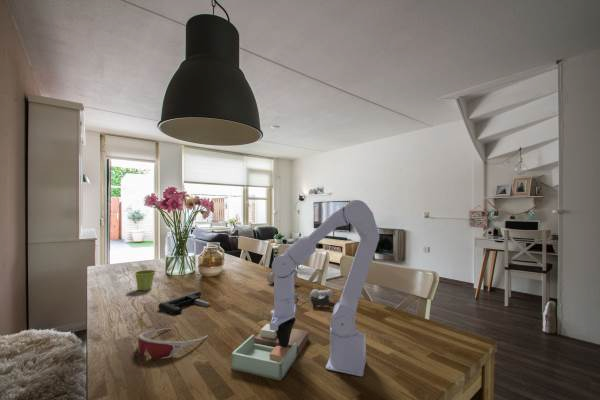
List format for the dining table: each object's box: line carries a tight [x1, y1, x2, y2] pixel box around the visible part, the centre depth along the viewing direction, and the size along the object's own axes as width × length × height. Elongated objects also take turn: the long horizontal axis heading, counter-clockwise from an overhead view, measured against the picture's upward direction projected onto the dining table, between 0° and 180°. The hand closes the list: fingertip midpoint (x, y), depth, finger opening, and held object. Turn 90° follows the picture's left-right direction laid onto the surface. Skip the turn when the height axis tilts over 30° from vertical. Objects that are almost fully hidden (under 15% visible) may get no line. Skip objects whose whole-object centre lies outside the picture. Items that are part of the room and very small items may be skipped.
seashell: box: [266, 268, 298, 284], centre depth 148 cm, size 10×15×10 cm
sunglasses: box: [137, 327, 208, 360], centre depth 82 cm, size 17×17×5 cm
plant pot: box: [134, 269, 157, 292], centre depth 137 cm, size 9×9×9 cm
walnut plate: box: [254, 327, 309, 356], centre depth 83 cm, size 14×10×2 cm
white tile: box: [260, 323, 277, 339], centre depth 83 cm, size 4×4×2 cm
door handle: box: [158, 290, 211, 316], centre depth 114 cm, size 3×20×16 cm
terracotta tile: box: [270, 346, 290, 362], centre depth 73 cm, size 4×4×2 cm
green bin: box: [230, 334, 298, 382], centre depth 72 cm, size 14×11×4 cm
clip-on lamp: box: [294, 288, 334, 309], centre depth 119 cm, size 12×6×18 cm
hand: (283, 345), depth 75 cm, fingers closed
